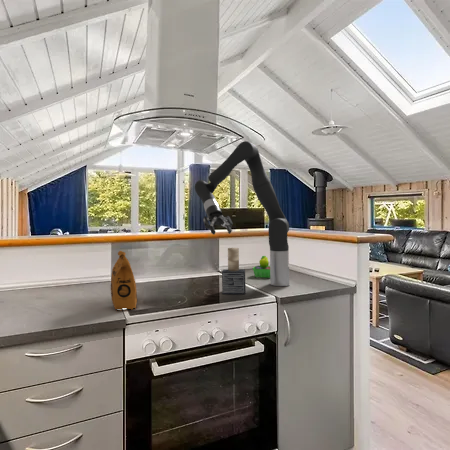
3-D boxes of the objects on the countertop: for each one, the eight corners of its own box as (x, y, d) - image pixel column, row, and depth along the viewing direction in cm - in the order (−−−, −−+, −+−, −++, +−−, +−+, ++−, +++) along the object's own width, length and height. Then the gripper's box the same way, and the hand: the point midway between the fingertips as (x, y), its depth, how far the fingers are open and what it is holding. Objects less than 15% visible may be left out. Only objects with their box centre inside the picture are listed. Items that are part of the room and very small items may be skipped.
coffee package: (110, 312, 121) (108, 255, 120) (111, 303, 133) (109, 251, 132) (138, 309, 124) (136, 253, 123) (136, 301, 136) (134, 249, 135)
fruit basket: (252, 277, 178) (252, 257, 177) (255, 274, 186) (255, 255, 186) (272, 278, 175) (272, 258, 174) (275, 275, 183) (275, 255, 182)
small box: (245, 291, 150) (245, 268, 149) (245, 294, 143) (245, 271, 142) (223, 290, 151) (223, 268, 150) (221, 294, 144) (221, 271, 144)
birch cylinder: (239, 269, 149) (238, 247, 148) (238, 271, 144) (238, 249, 143) (228, 269, 149) (228, 247, 148) (227, 271, 144) (227, 249, 143)
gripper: (201, 204, 160) (210, 228, 150) (227, 204, 166) (237, 227, 156) (198, 215, 165) (206, 238, 155) (223, 214, 171) (233, 237, 162)
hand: (222, 233), depth 156 cm, fingers open, 8 cm apart
